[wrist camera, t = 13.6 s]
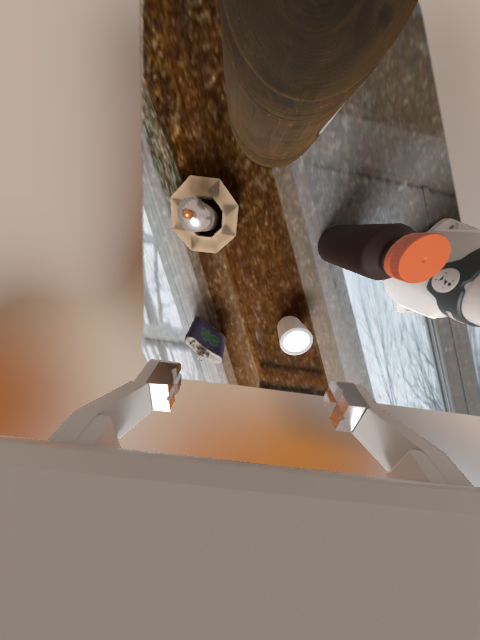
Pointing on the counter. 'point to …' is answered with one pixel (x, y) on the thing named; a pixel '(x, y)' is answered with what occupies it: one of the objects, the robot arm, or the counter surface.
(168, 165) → the counter surface
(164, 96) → the counter surface
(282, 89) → the wooden container
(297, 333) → the white short cylinder
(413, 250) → the bottle
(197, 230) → the white candle
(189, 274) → the counter surface
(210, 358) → the flask
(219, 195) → the bead
